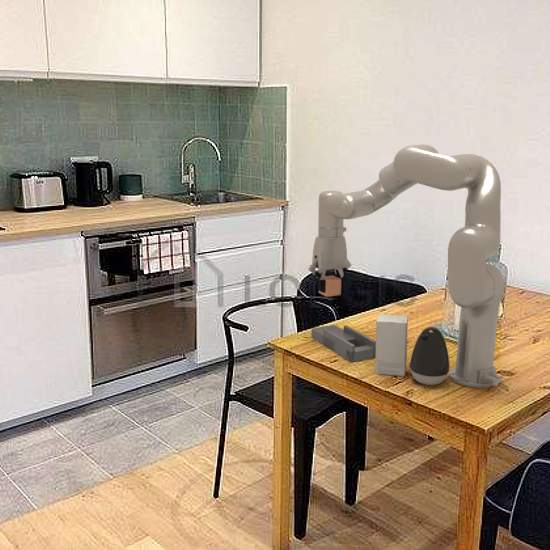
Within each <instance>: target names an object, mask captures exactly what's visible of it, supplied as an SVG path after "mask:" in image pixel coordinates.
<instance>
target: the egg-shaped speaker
mask: <svg viewBox="0 0 550 550" xmlns="http://www.w3.org/2000/svg"><path fill="white" fill-rule="evenodd" d="M449 356H450V355H449V349H448V347H447V343H446V339H445V336H444V335H443V333H442V331H441V330H440V329H439V328H437V327H434V326H428V327H425V328H424V329H423V330H422V331H421V332H420V333H419V335H418V337H417V339H416V341H415V344H414V346H413V349H412V352H411V357H410V361H409V369H410V371H411V374H412V375H411V376H412V377H413V378H414V379H415V381H417V382H418V383H419V384H422V385H426V386H435V385H440V384H441V383H442V382H444V381H445V379H446V378H447V376H448V374H449V371H450V357H449Z"/></svg>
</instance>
